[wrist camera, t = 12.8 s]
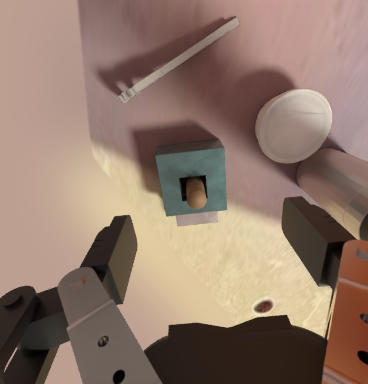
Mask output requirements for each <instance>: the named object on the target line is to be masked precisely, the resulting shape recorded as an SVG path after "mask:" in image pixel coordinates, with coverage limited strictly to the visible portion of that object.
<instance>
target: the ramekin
mask: <svg viewBox="0 0 368 384" xmlns="http://www.w3.org/2000/svg"><path fill="white" fill-rule="evenodd" d="M331 123H332V111H331V107H330V105H329V103H328V101H327V99H326V98H325V97H324V96H323V95H322V94H320V93H319V92H317V91H315V90H312V89H307V88H297V89H292V90H289V91H286V92H284V93H282V94H280V95H278V96H276V97H274V98H272V99H271V100H269V101H268V102H267V103H266V104H265V105H264V106H263V107H262V109H261V110H260V112H259V114H258V116H257V120H256V124H255V134H256V137H257V139H258V142H259V145H260V148H261V149H262V151H263V152H264V153H265V154H266V155H267V156H268V157H269V158H270V159H272V160H274V161H276V162H279V163H295V162H299V161H301V160H304V159H306V158H308V157H309V156H311V155H312V154H313V153H315V152H316V151H317V150H318V149H319V148H320V147H321V145H322V144H323V143H324V141H325V140H326V138H327V136H328V134H329V131H330V128H331Z"/></svg>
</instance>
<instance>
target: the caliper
mask: <svg viewBox="0 0 368 384" xmlns="http://www.w3.org/2000/svg"><path fill="white" fill-rule="evenodd" d="M238 25H239V22H238V19H237V17H236V18H234V19H233V20H231V21H229V22H228V23H226V24H225V25H223V26H222V27H220V28H219V29H217V30H216V31H214V32H213V33H211V34H210V35H208V36H207V37H205V38H204V39H203V40H201V41H200V42H198V43H197V44H195V45H194V46H192V47H191V48H189V49H188V50H186V51H185V52H183V53H182V54H180V55H179V56H177V57H176V58H174V59H173V60H172V61H170V62H169V63H167V64H166V65H164V66H163V67H161V68H160V69H158V70H156V71H155V72H153V73H152V74H150V75H149V76H147V77H146V78H144V79H143V80H141V81H140V82H139V83H137V84H136V85H134V86H133V87H132V88H128V89H127V90H126V92H123V93H122V94H121V95H119V99H120V100H121V102H122V103H125V102H127V101H129V99H130V98H131V97H133V96H134V95H135V96H136V95H137V94H139V93H140V92H141V91H142V90H143V89H145V88H146V87H148V86H149V85H151V84H153V83H154V82H155V81H157V80H158V79H160V78H161V77H162V76H164V75H165V74H167V73H168V72H170V71H171V70H173V69H174V68H176V67H177V66H179V65H180V64H182V63H183V62H185V61H186V60H188V59H189V58H191V57H192V56H193V55H195V54H196V53H198V52H199V51H201V50H202V49H204V48H205V47H207V46H208V45H210V44H211V43H213V42H214V41H216V40H217V39H219V38H220V37H222V36H223V35H225V34H226V33H227V32H229V31H230V30H232V29H233V28H235V27H236V26H238Z"/></svg>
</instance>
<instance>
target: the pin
mask: <svg viewBox="0 0 368 384" xmlns="http://www.w3.org/2000/svg"><path fill="white" fill-rule="evenodd" d="M186 190H187V203H188V205H189V206H190V207H191V208H193V209H200V208H202V207H204V206H205V204H206V202H207V199H206V194H205V189H204V185H203V180H202V175H200V176H192V177H186Z"/></svg>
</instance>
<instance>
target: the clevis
mask: <svg viewBox="0 0 368 384" xmlns="http://www.w3.org/2000/svg"><path fill="white" fill-rule="evenodd" d="M155 157H156V163H157V168H158V174H159V179H160V185H161V190H162V196H163V201H164V206H165V212H166V216H175V215H176V220H177V226H186V225H196V224H205V223H215V222H218V216H217V211H222V210H227V200H226V175H225V149H224V146H223V145H222V143H221V141H220V140H219V139H217V140H209V141H201V142H192V143H184V144H176V145H168V146H159V147H158V149H157V152H156V155H155ZM200 175H204V182H205V185H204V189H205V194H206V199H207V202H206V204H205V206H204V207H202V208H200V209H193V208H191V207H190V206H189V205H188V203H187V190H186V188H182V183H181V178H183V177H192V176H200Z"/></svg>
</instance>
